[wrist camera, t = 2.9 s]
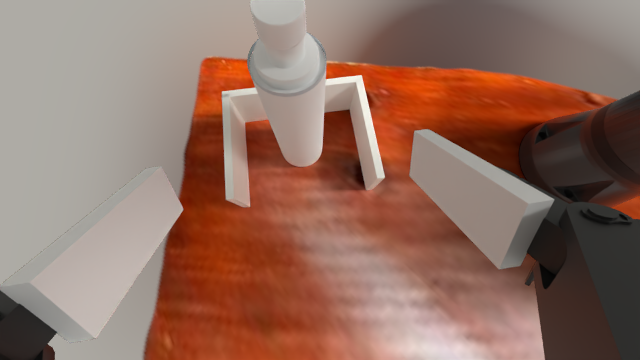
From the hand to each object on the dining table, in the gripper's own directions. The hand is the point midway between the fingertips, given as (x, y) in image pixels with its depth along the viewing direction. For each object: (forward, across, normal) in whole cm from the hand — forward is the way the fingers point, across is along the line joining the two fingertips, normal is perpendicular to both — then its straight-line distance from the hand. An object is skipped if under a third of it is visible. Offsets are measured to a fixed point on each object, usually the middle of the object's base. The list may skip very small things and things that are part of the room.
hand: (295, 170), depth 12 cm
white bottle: (+24, 0, -8) cm, 26 cm away
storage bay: (+23, 0, -9) cm, 25 cm away
